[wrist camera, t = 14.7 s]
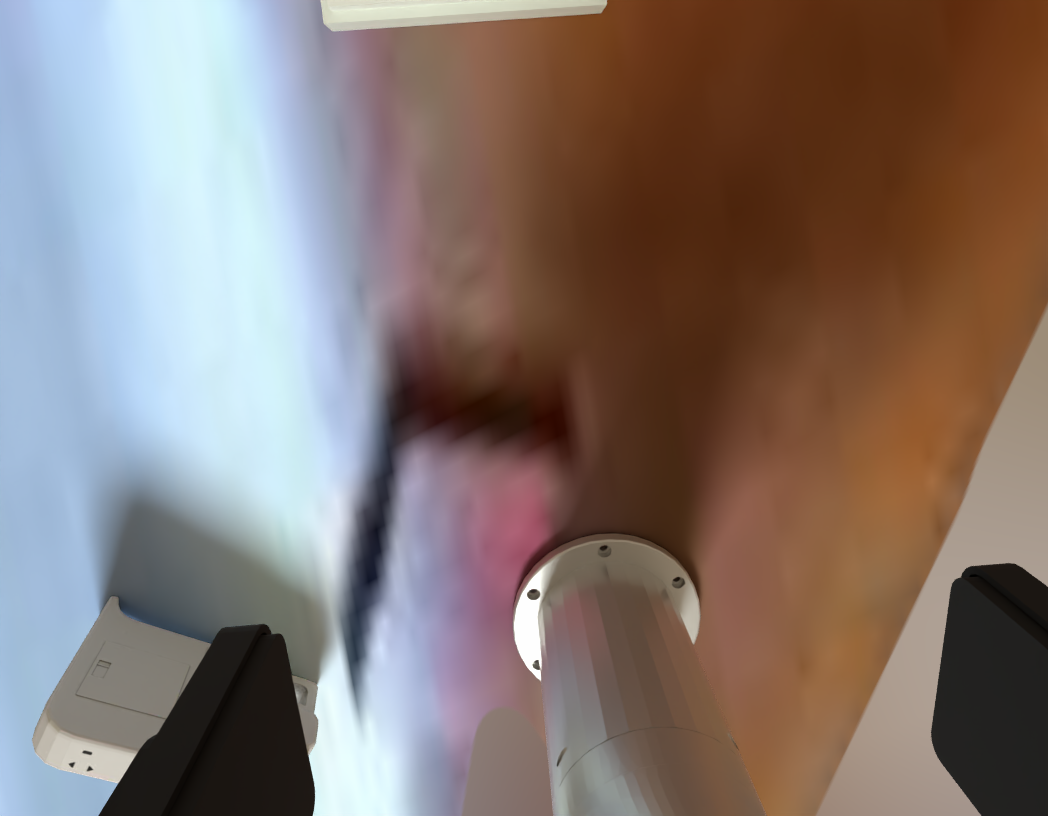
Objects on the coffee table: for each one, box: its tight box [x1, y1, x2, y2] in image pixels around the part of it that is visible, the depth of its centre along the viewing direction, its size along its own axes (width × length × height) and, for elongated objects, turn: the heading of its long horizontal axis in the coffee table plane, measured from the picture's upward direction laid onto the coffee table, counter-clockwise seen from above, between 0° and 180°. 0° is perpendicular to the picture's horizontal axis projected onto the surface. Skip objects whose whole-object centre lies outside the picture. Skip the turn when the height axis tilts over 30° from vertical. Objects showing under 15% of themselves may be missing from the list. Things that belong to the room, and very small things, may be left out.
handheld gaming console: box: [32, 596, 318, 783], centre depth 44 cm, size 11×3×15 cm
